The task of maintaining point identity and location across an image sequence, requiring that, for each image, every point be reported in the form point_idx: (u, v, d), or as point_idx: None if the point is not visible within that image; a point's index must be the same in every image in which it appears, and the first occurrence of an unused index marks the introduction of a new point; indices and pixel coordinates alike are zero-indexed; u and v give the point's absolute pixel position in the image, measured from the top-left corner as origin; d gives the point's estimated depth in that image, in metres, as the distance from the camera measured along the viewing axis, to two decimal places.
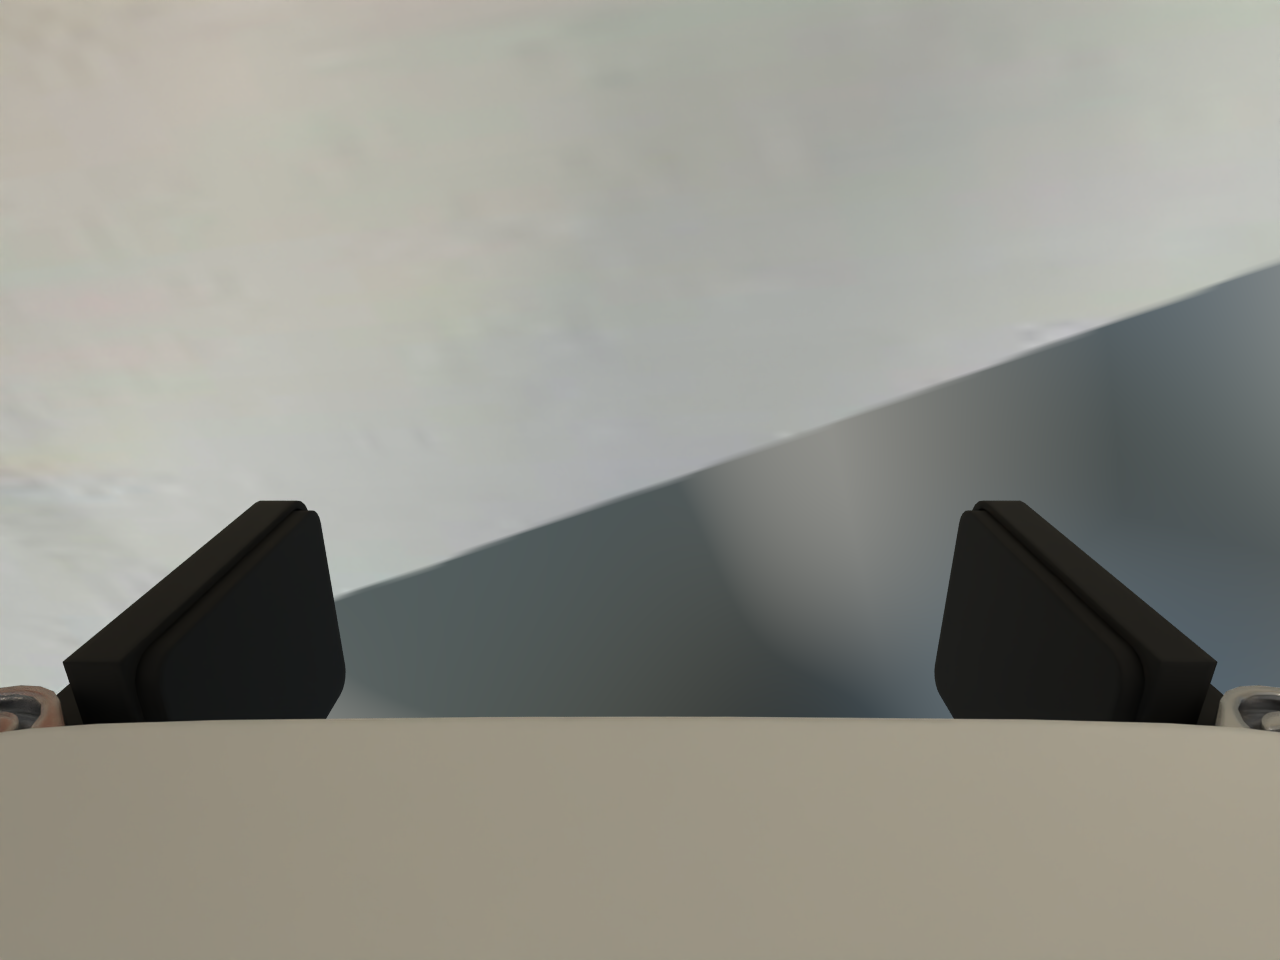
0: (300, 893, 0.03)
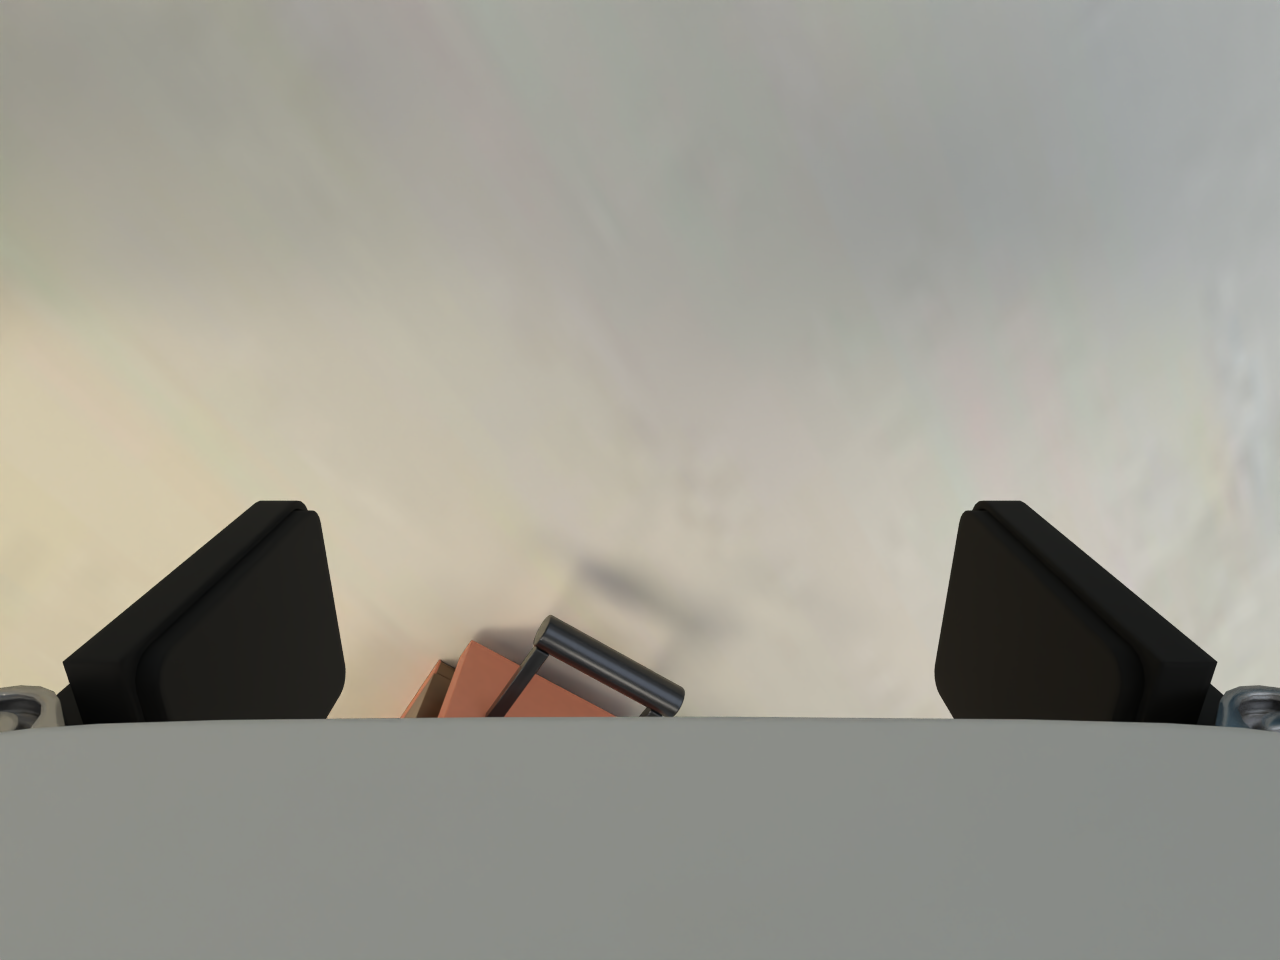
0: (300, 893, 0.03)
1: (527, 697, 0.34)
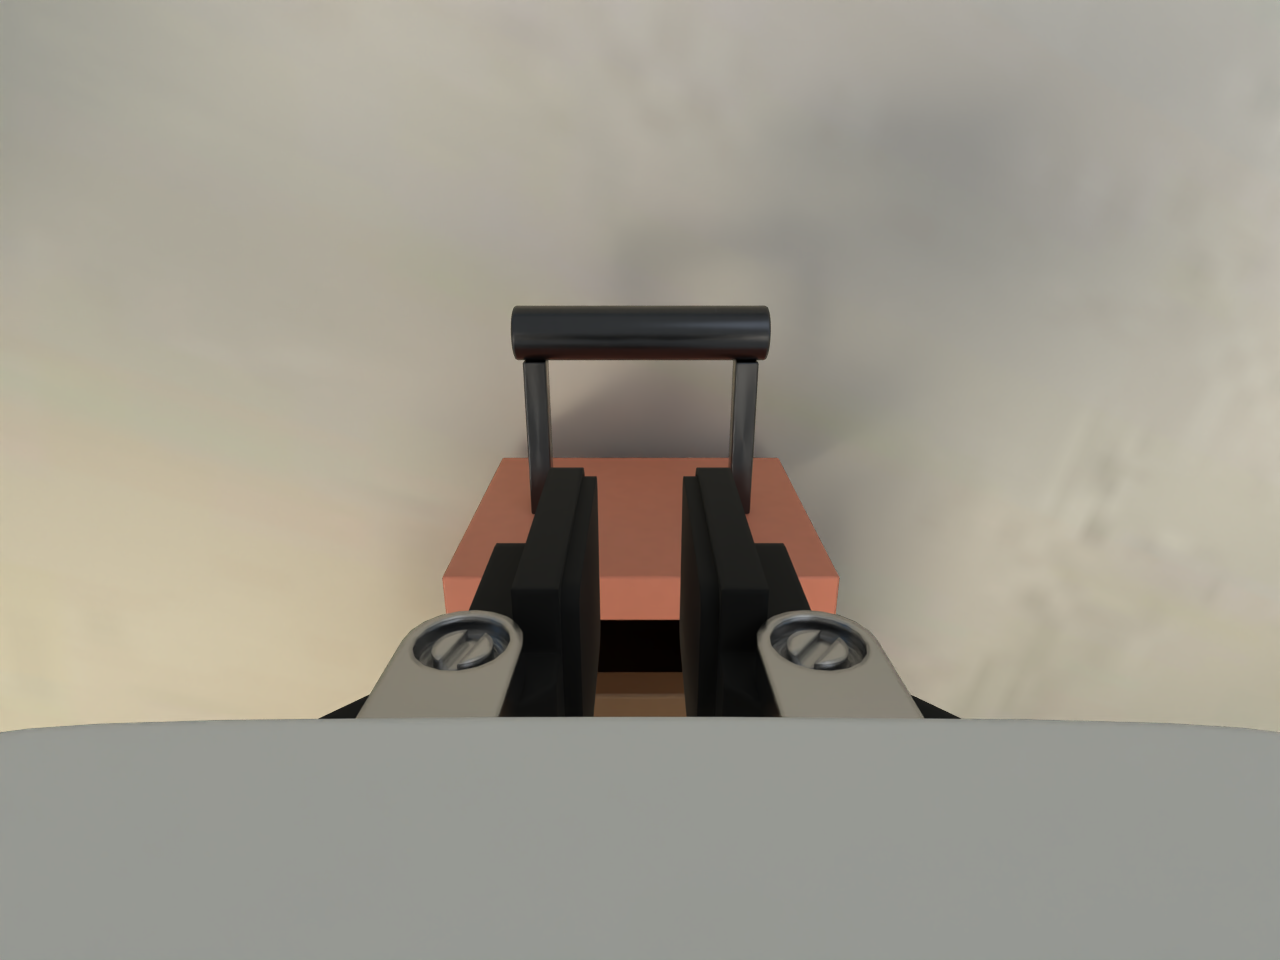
0: (300, 891, 0.03)
1: (597, 477, 0.24)
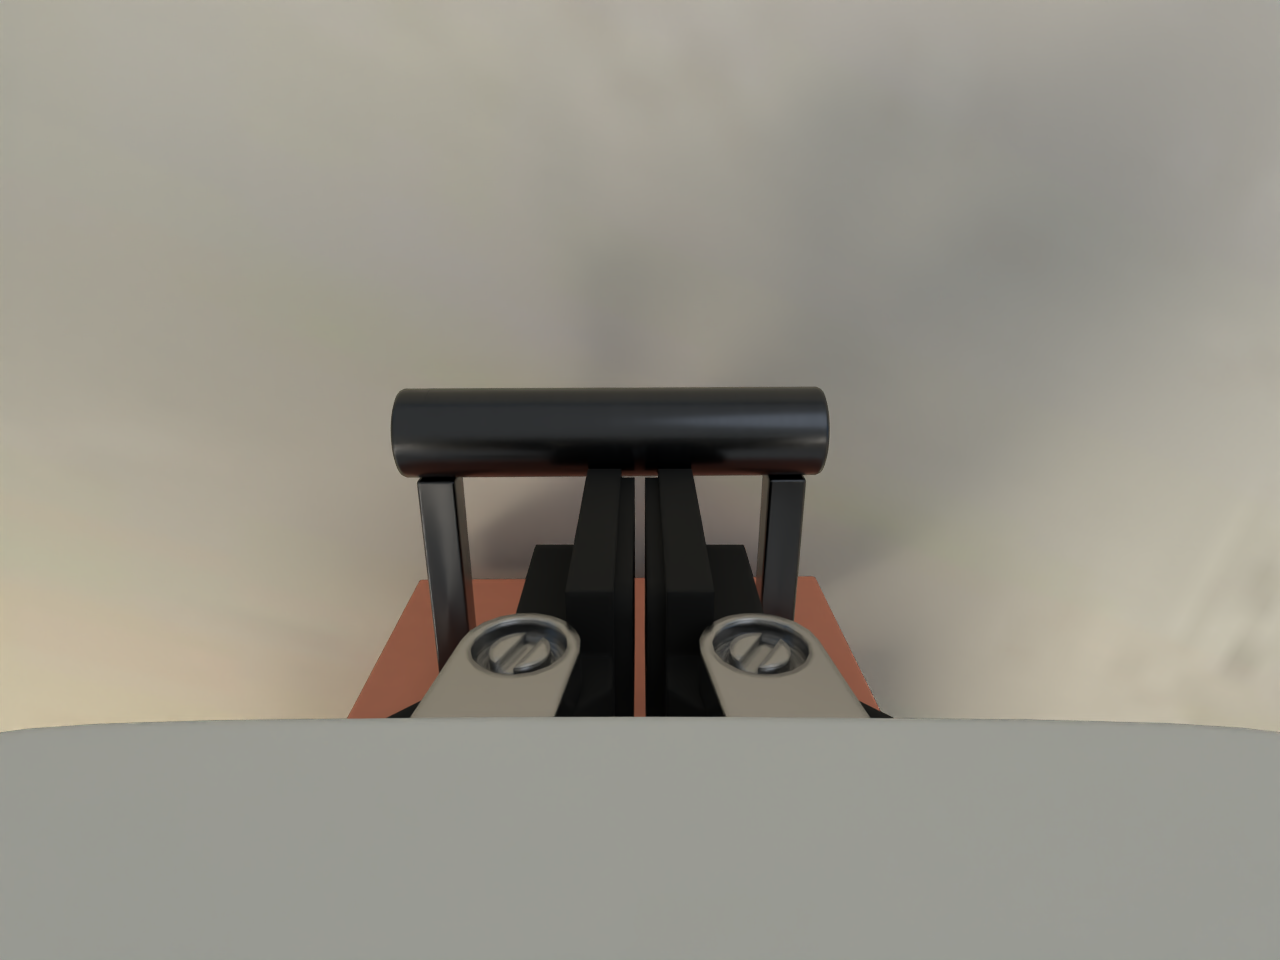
0: (302, 892, 0.03)
1: None
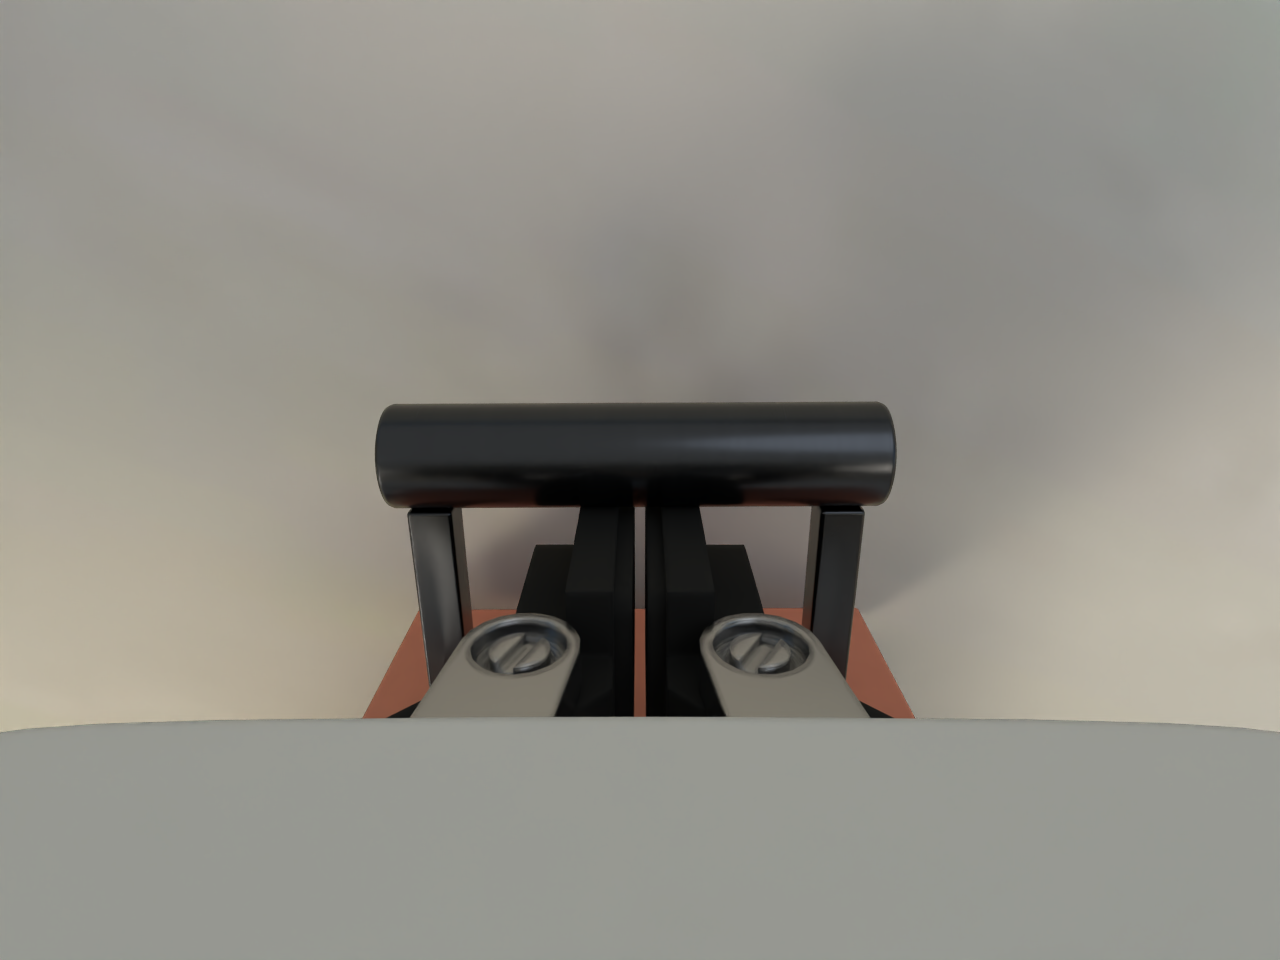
0: (300, 891, 0.03)
1: None
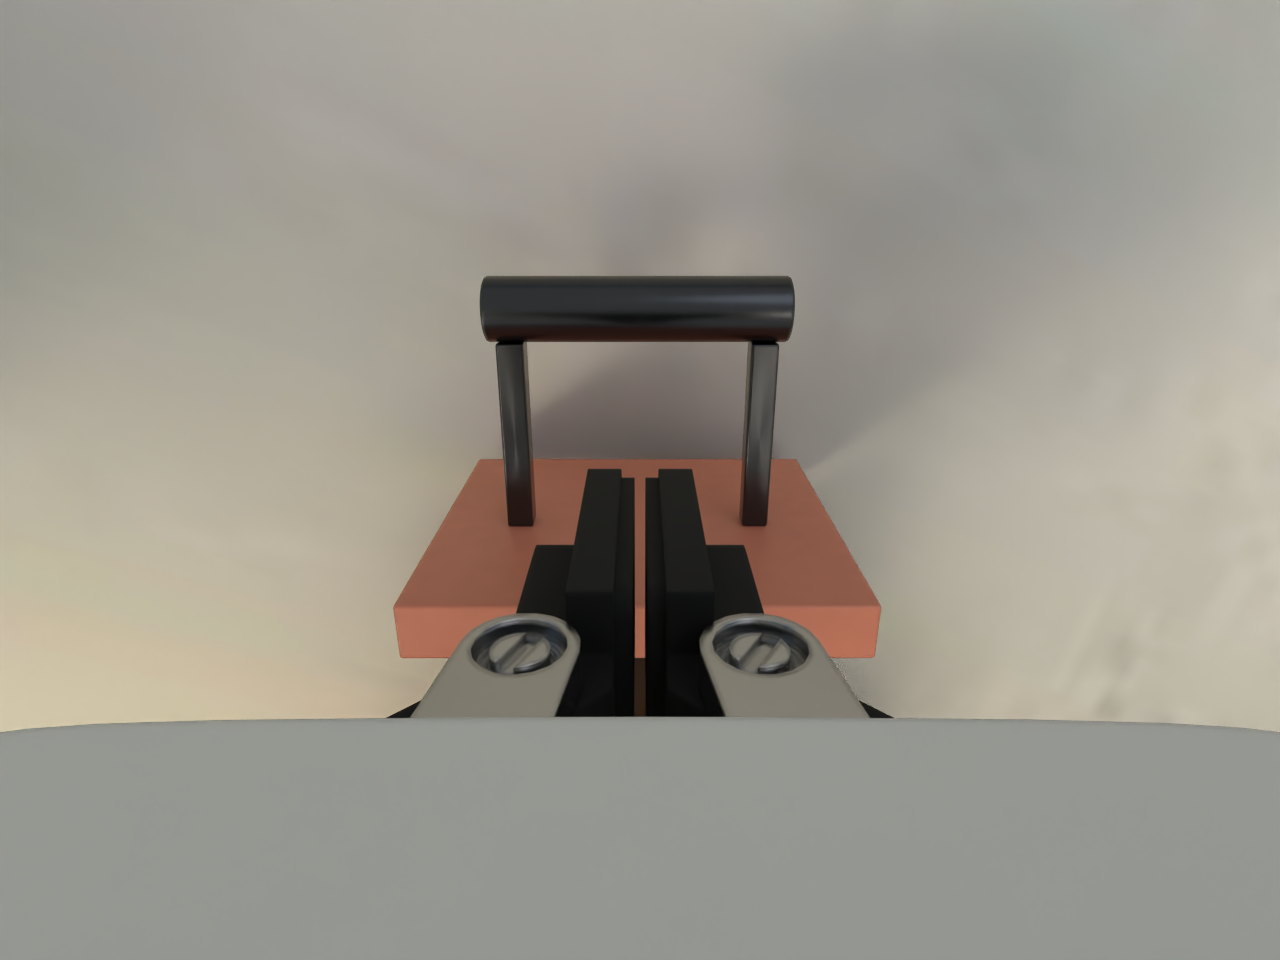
0: (300, 891, 0.03)
1: None
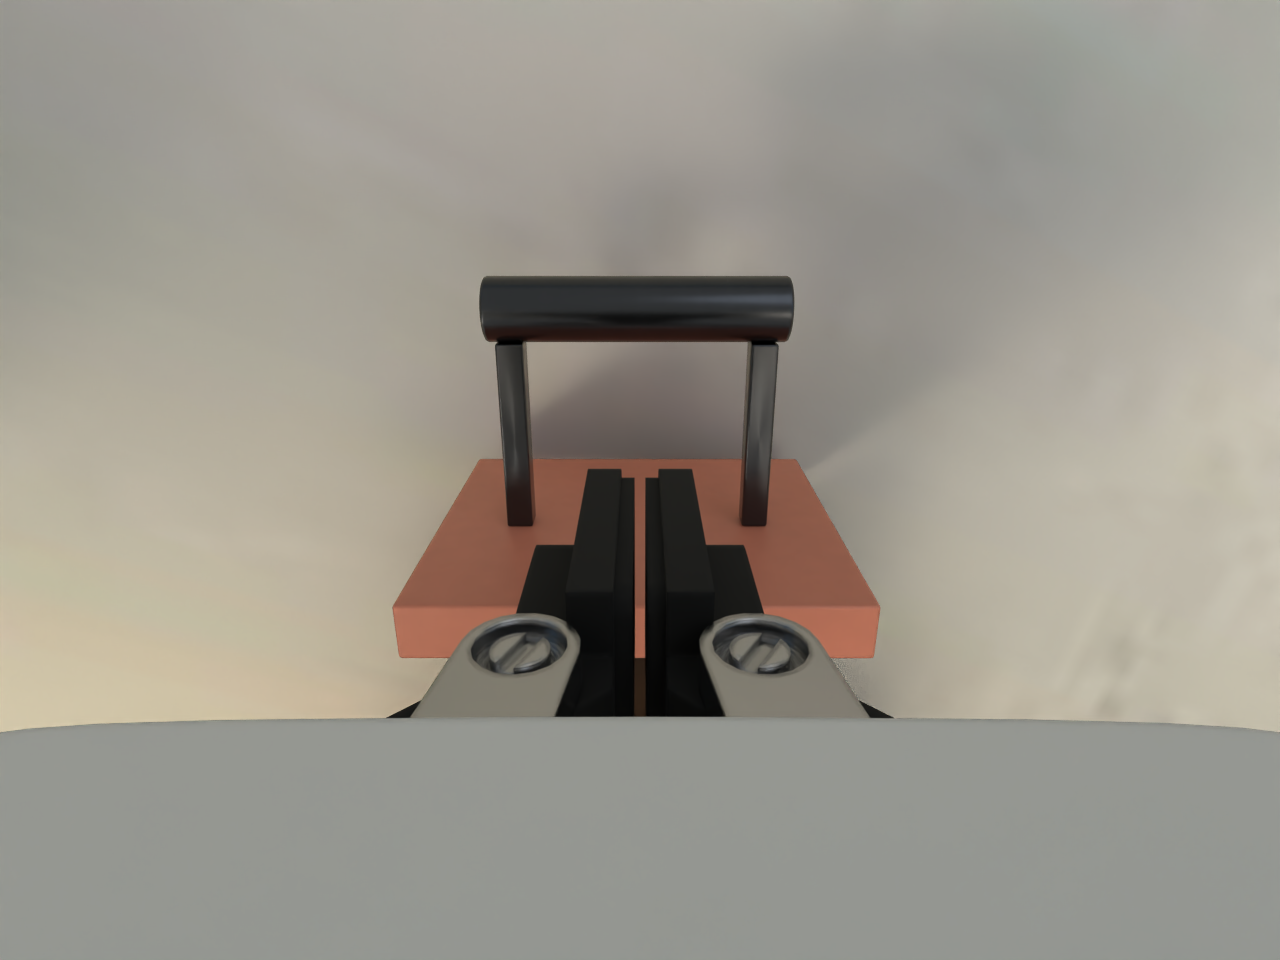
0: (300, 891, 0.03)
1: None
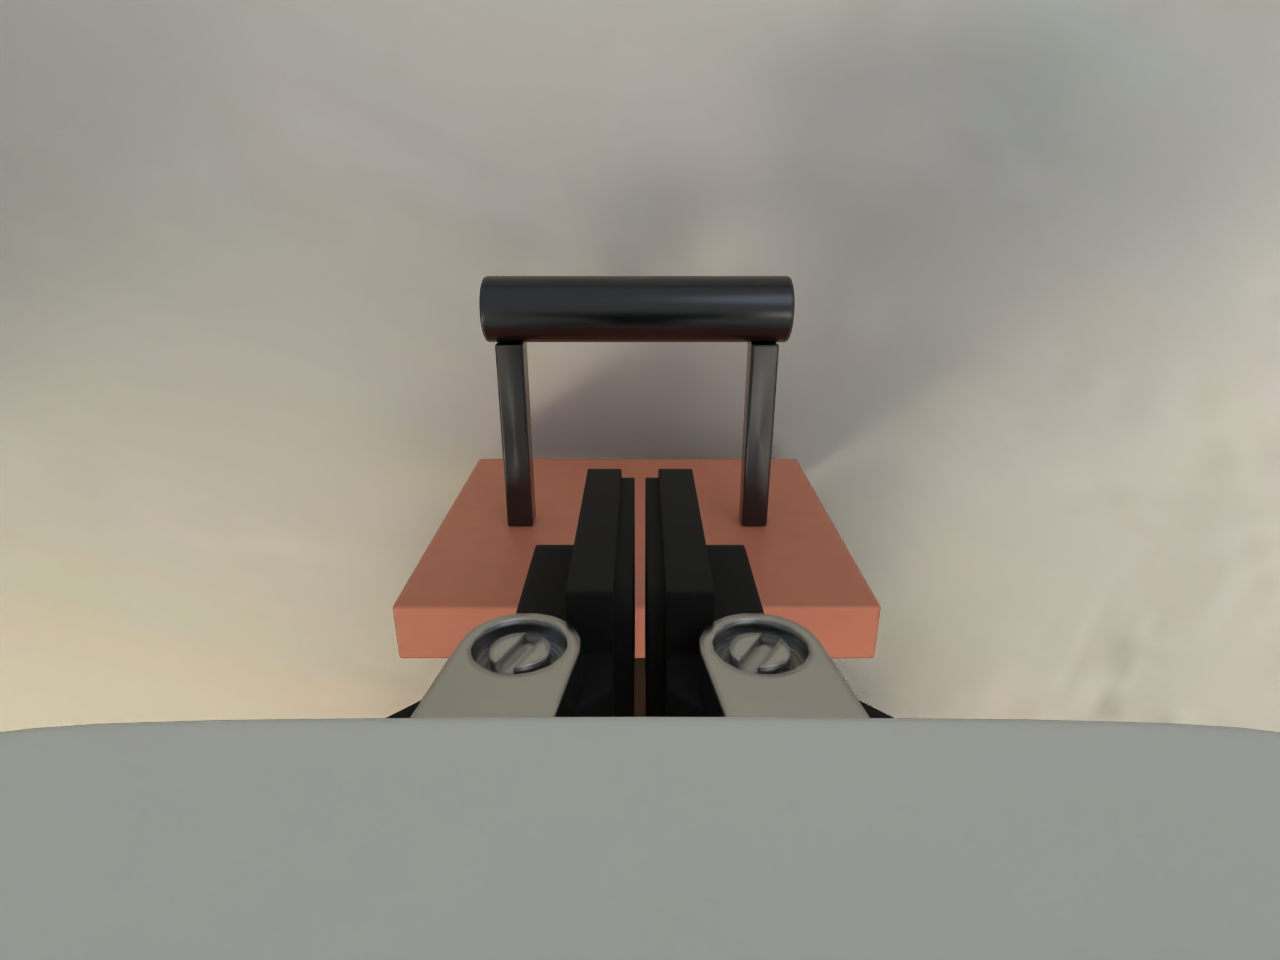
0: (300, 891, 0.03)
1: None
